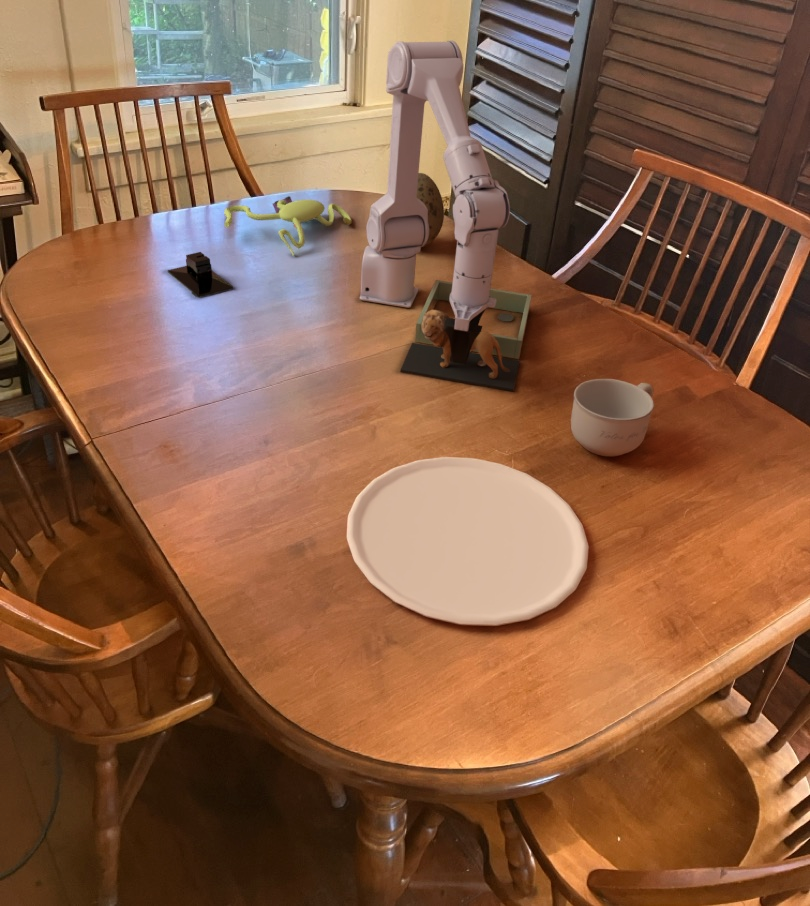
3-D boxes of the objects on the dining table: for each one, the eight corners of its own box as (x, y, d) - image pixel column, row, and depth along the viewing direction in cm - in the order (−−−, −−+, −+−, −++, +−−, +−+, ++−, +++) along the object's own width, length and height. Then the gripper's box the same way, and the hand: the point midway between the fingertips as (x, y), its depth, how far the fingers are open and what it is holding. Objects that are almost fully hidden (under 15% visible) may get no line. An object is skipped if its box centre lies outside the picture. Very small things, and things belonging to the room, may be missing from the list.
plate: (404, 663, 82) (405, 655, 81) (313, 488, 102) (313, 481, 102) (636, 590, 92) (639, 583, 91) (511, 445, 113) (512, 438, 112)
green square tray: (414, 341, 134) (416, 323, 132) (434, 297, 148) (435, 279, 146) (518, 359, 132) (522, 340, 130) (528, 312, 146) (531, 294, 144)
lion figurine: (415, 367, 127) (419, 316, 121) (421, 351, 131) (425, 301, 125) (507, 382, 125) (516, 331, 120) (510, 365, 129) (519, 315, 124)
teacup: (595, 474, 109) (608, 426, 104) (549, 430, 116) (559, 384, 111) (672, 450, 114) (688, 403, 110) (623, 410, 122) (636, 365, 117)
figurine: (211, 237, 163) (209, 210, 159) (291, 201, 181) (291, 177, 178) (284, 262, 156) (284, 234, 152) (360, 222, 174) (361, 197, 171)
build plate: (234, 289, 145) (232, 265, 143) (197, 299, 141) (195, 274, 139) (201, 263, 153) (199, 240, 150) (165, 272, 149) (162, 248, 146)
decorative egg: (430, 260, 161) (437, 186, 152) (380, 250, 164) (384, 176, 154) (447, 242, 169) (454, 170, 160) (400, 232, 172) (404, 161, 163)
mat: (400, 372, 126) (400, 369, 126) (412, 345, 133) (412, 342, 133) (513, 391, 124) (513, 389, 124) (519, 363, 131) (519, 360, 131)
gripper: (493, 295, 112) (481, 377, 121) (505, 255, 124) (493, 333, 132) (444, 287, 113) (435, 369, 121) (460, 248, 125) (451, 326, 133)
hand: (463, 350), depth 127 cm, fingers open, 7 cm apart
